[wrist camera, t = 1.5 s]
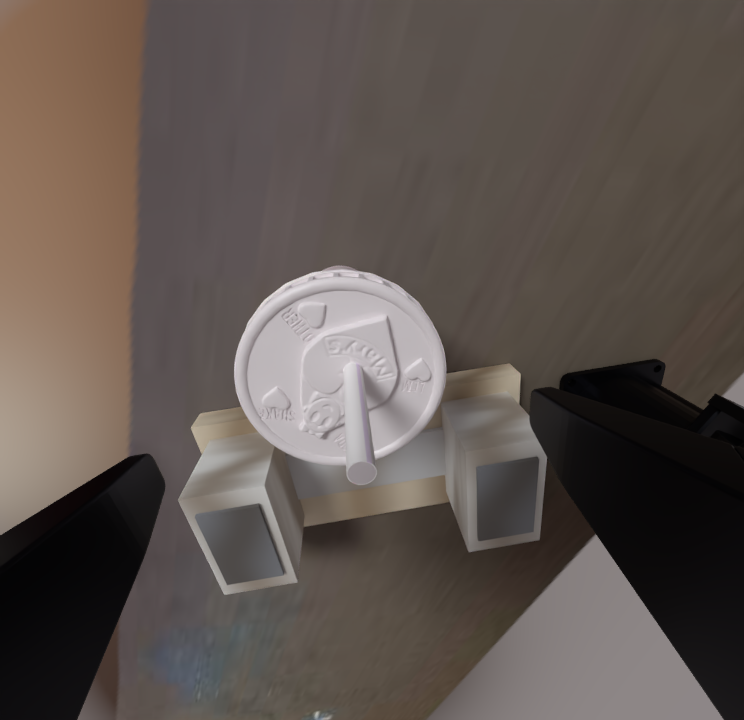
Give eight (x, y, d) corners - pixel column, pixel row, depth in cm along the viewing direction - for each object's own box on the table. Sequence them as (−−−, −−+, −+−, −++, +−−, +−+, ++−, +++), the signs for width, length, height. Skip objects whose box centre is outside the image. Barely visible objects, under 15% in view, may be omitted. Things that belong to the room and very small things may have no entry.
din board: (509, 363, 22) (569, 420, 16) (505, 475, 26) (553, 553, 20) (200, 413, 21) (150, 489, 16) (242, 520, 25) (215, 612, 20)
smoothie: (421, 279, 19) (585, 436, 7) (360, 372, 21) (395, 631, 8) (316, 212, 17) (257, 246, 5) (260, 320, 19) (112, 551, 7)
